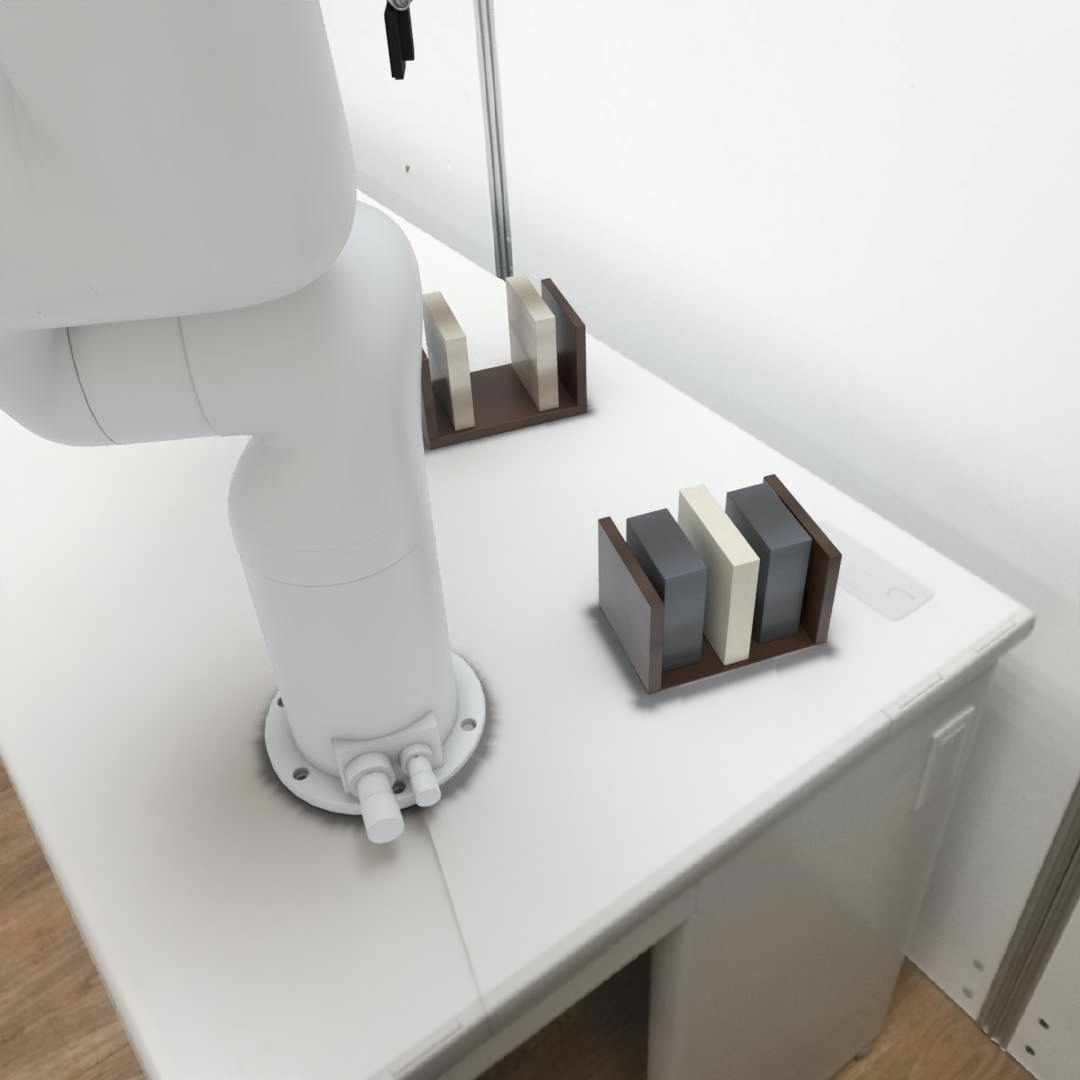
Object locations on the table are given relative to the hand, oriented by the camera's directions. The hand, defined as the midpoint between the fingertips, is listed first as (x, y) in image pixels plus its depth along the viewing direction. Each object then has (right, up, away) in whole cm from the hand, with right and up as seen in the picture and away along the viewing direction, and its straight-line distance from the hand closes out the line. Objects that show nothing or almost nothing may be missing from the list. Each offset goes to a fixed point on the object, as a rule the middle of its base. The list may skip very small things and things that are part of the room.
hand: (323, 77), depth 70 cm
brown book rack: (+10, -18, +19) cm, 28 cm away
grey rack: (+24, -35, -1) cm, 42 cm away
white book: (+24, -34, -2) cm, 42 cm away
